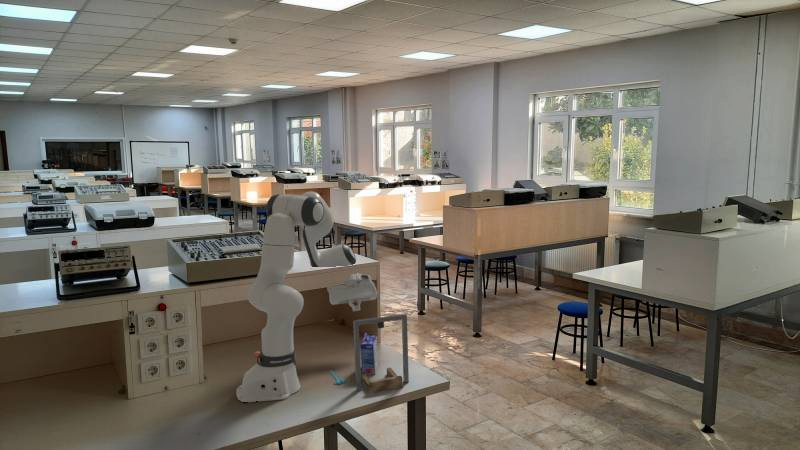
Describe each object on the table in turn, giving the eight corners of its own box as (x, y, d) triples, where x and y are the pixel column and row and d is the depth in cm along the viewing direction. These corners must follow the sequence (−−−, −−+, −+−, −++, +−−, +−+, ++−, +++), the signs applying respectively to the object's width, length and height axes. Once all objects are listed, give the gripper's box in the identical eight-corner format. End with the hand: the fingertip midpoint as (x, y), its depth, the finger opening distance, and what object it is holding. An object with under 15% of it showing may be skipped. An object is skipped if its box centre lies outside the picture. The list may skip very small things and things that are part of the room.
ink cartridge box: (365, 364, 221) (364, 329, 219) (379, 364, 220) (377, 329, 218) (361, 374, 211) (359, 338, 209) (375, 374, 210) (374, 338, 208)
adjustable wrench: (348, 381, 204) (335, 384, 202) (348, 383, 204) (335, 386, 202) (336, 367, 216) (324, 370, 214) (336, 370, 217) (324, 372, 215)
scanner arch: (357, 391, 196) (354, 322, 193) (355, 388, 199) (353, 320, 195) (409, 382, 203) (407, 315, 199) (406, 380, 205) (405, 313, 201)
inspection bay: (370, 393, 194) (369, 382, 194) (360, 378, 207) (359, 368, 206) (402, 387, 198) (402, 377, 198) (390, 373, 211) (390, 363, 210)
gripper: (326, 280, 231) (333, 309, 223) (373, 275, 238) (381, 303, 230) (325, 288, 236) (331, 317, 228) (371, 283, 242) (378, 310, 235)
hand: (356, 310), depth 229 cm, fingers closed
